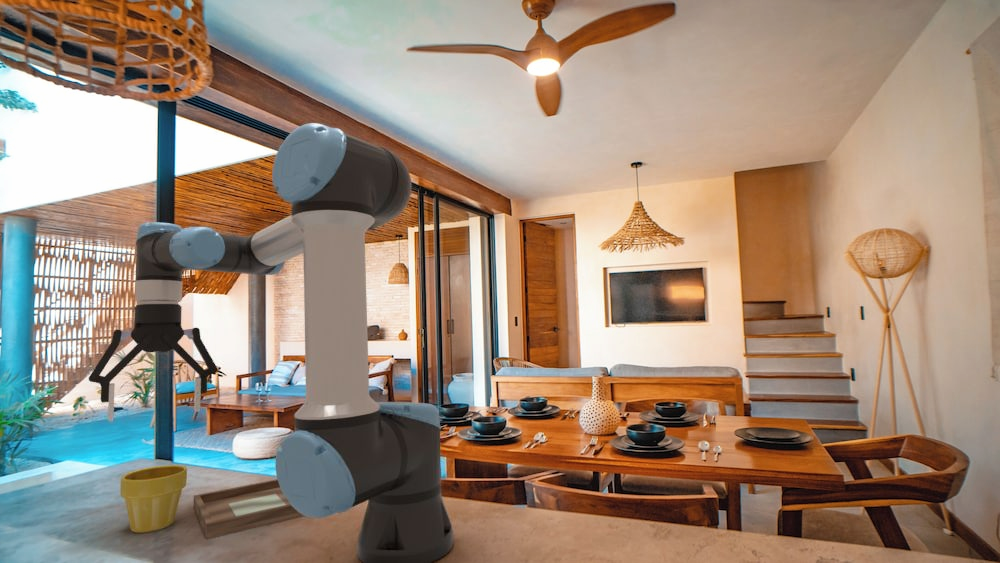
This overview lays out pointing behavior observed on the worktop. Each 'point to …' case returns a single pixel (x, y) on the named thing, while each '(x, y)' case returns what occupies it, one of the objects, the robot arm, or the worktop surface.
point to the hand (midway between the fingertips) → (155, 415)
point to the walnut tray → (242, 508)
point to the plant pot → (153, 496)
